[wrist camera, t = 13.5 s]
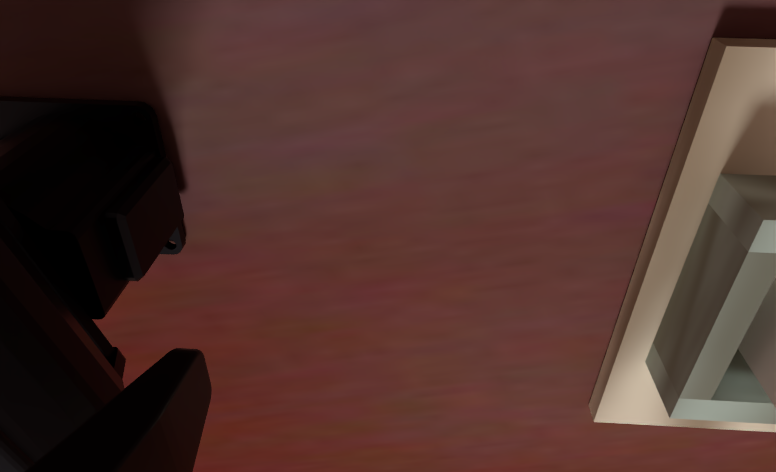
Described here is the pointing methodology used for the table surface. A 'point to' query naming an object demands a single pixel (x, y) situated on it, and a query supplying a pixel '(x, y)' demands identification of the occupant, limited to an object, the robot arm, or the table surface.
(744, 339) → the connector plug
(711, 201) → the end holder
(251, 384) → the table surface
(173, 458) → the robot arm
